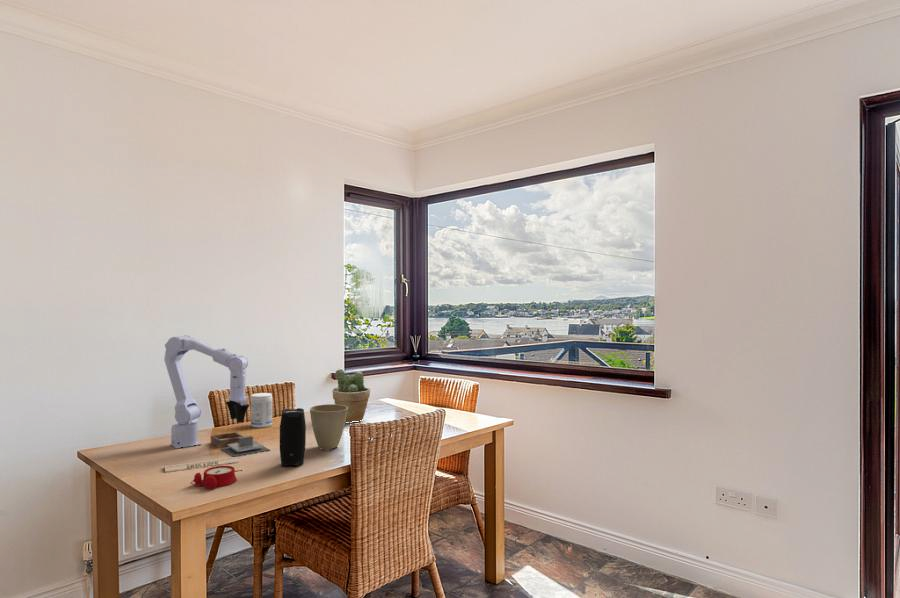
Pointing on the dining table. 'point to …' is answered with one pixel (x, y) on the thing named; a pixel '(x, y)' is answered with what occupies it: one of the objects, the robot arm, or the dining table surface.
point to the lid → (245, 444)
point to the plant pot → (328, 424)
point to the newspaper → (201, 464)
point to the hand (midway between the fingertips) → (237, 420)
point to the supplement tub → (261, 410)
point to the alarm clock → (216, 477)
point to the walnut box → (225, 439)
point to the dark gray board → (243, 452)
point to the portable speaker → (292, 437)
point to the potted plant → (351, 394)
